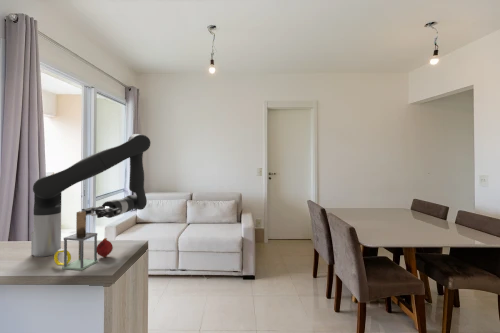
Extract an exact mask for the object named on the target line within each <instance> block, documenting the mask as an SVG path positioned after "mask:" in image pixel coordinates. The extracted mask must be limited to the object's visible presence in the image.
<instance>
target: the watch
mask: <svg viewBox="0 0 500 333" xmlns="http://www.w3.org/2000/svg"><path fill="white" fill-rule="evenodd" d="M59 253H64V247H63V248H61V249H59V250H58V252H56V253H55V254H54V255H53V256H54V257H53V260H54V263H55V264H56V265H57V266H64V262H61V261H60V260H59V258H58V256H59ZM71 261H72V254H71V253H70V251H69V250H67V265H68V264H70V263H71Z"/></svg>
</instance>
